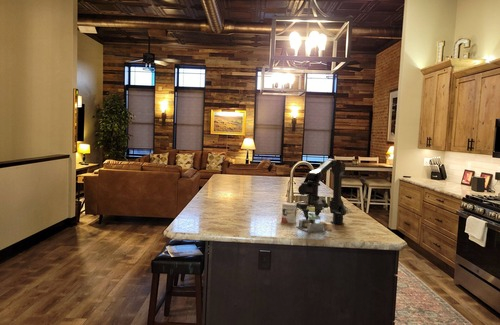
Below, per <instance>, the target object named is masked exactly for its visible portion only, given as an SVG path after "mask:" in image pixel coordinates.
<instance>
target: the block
mask: <svg viewBox="0 0 500 325" xmlns="http://www.w3.org/2000/svg"><path fill="white" fill-rule="evenodd" d="M319 222H322V223H324V230H325V231H326V230H327V231H330V230H332V227H333V223H331V222H329V221H326V220H319Z"/></svg>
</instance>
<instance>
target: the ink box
mask: <svg viewBox="0 0 500 325" xmlns="http://www.w3.org/2000/svg"><path fill="white" fill-rule="evenodd" d="M296 205H297V203H293V202H283V203H282V204H281V206H282V207H281V220H280V221H281V222H282V223H288V224H296V223H297V210H298V208H296Z"/></svg>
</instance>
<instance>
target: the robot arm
mask: <svg viewBox="0 0 500 325" xmlns="http://www.w3.org/2000/svg"><path fill="white" fill-rule="evenodd" d="M329 170H331V173H332V174H333V185H332V186H333V188H332V189H333V191H332V192H333V193H332V198H331V200H329V204H328V202H327V201H326V199H324V198H323V199H320V196H319V186H321V184H320V182H321V181H322V179H323V175H324V174H326V173H327V172H328V171H329ZM345 171H346V163H345V162H343V161H339V160H337V159H334V158H327V159H326V161H324V162H323V163H322V164H321V165H320V166H319V167H317V168H316V169H312V170H311V171H308V173H307V174H306V176H305V178H304V180H303V182H301V185H299V186H298V190H297V191H298V193H299V195H301V196H304V195H305V196H306V197H307V201H306V203H305V202H297V203H296V204H297V205H296V208H297V209H299V210H301V211H302V213H303V214H304V215H305V217H304V219H306V220H308V214H309V213H310V209H309V208H314V214H315V215H317V216H320V213H321V211H323V210H325V209H328V208H329V212H330V214H332V221H330V223H331V224H332V225H345V222H344V216H346V214H347V210H346V208H345V206H344V201H343V199H342V186H343V175H344V173H345Z"/></svg>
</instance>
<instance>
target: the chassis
mask: <svg viewBox="0 0 500 325" xmlns="http://www.w3.org/2000/svg"><path fill="white" fill-rule="evenodd" d="M296 228H298V229H299V230H301V231H304V232H306V233H308V234H317V233H319V234H320V233H326V229H324V223H322V222H320V221H319V222H316V220H311V219H308V220H306V218H302V219H301V218H300V219H298V225H297V226H296Z"/></svg>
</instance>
